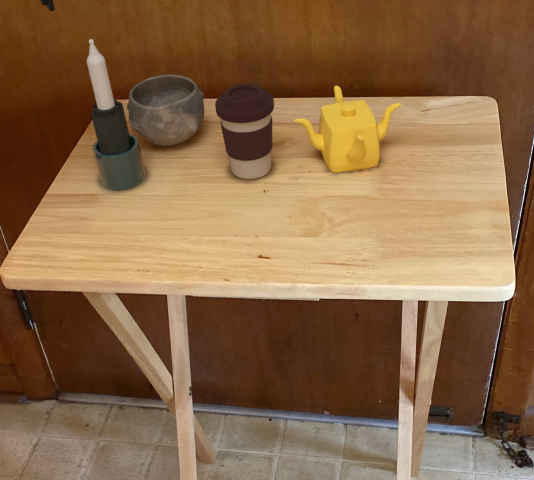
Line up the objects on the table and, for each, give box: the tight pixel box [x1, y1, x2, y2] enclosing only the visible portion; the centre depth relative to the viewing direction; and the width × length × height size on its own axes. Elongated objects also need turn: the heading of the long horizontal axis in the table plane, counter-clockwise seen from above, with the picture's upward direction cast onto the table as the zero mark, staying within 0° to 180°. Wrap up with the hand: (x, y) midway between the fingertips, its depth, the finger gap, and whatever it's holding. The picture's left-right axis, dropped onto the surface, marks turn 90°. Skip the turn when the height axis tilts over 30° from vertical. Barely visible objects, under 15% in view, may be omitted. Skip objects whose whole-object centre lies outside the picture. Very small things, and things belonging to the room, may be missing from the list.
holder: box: [92, 132, 146, 191], centre depth 145 cm, size 8×8×7 cm
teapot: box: [293, 85, 402, 174], centre depth 144 cm, size 15×14×10 cm
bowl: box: [126, 74, 205, 147], centre depth 154 cm, size 14×15×10 cm
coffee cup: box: [214, 82, 275, 180], centre depth 141 cm, size 10×10×15 cm
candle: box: [86, 38, 132, 155], centre depth 138 cm, size 5×5×25 cm
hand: (80, 1), depth 125 cm, fingers open, 9 cm apart
